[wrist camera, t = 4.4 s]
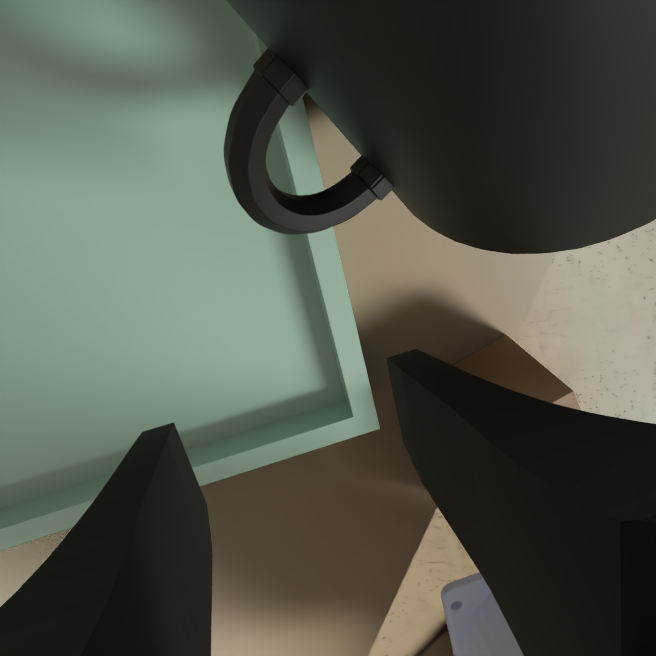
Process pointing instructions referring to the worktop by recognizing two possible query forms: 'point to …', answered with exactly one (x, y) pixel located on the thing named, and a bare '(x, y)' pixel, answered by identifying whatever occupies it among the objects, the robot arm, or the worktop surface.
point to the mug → (461, 115)
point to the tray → (152, 261)
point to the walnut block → (517, 372)
